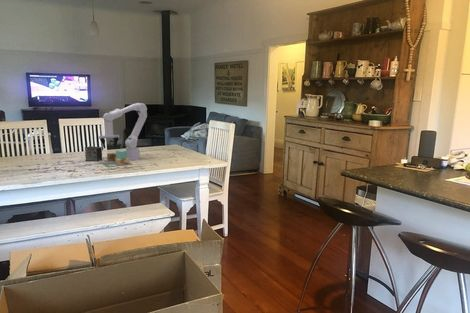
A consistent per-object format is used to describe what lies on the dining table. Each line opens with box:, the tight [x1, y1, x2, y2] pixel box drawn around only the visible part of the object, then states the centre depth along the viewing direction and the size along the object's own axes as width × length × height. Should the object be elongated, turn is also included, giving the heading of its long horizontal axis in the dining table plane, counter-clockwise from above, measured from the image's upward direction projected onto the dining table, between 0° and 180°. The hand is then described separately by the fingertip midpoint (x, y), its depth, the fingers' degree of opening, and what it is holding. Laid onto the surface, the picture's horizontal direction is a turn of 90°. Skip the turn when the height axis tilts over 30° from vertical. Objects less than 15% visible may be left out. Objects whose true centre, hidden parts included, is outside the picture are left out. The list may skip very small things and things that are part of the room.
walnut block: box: [106, 152, 116, 162], centre depth 265 cm, size 6×6×6 cm
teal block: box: [115, 149, 127, 159], centre depth 253 cm, size 6×6×6 cm
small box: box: [84, 145, 103, 162], centre depth 265 cm, size 11×6×10 cm, turn 74°
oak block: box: [114, 158, 130, 166], centre depth 254 cm, size 7×7×4 cm
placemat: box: [102, 161, 134, 168], centre depth 253 cm, size 18×14×1 cm
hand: (109, 147), depth 261 cm, fingers open, 7 cm apart
